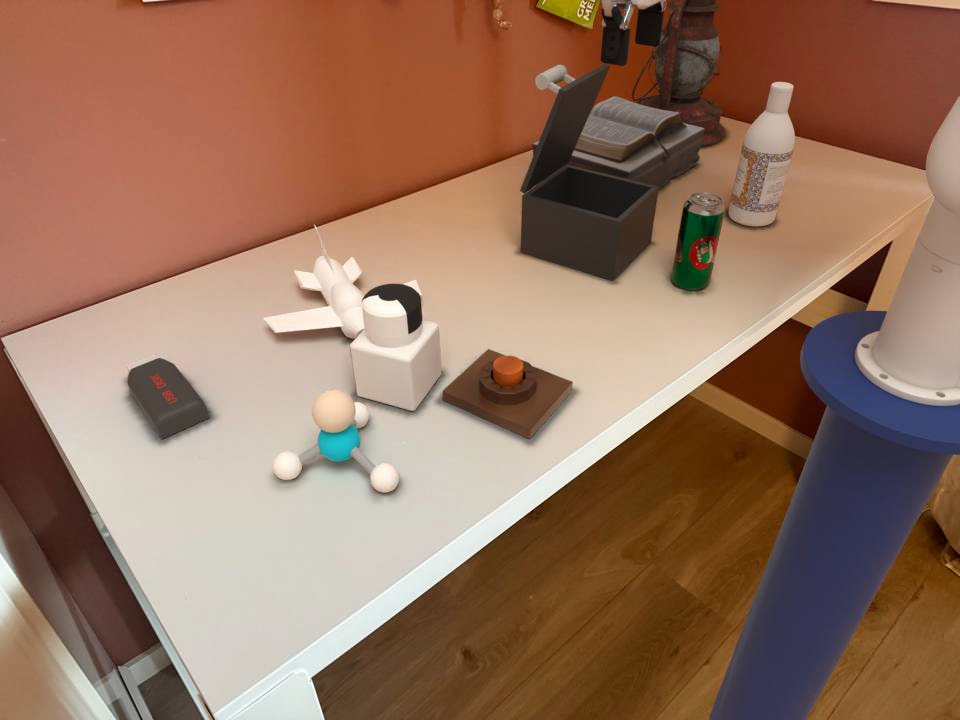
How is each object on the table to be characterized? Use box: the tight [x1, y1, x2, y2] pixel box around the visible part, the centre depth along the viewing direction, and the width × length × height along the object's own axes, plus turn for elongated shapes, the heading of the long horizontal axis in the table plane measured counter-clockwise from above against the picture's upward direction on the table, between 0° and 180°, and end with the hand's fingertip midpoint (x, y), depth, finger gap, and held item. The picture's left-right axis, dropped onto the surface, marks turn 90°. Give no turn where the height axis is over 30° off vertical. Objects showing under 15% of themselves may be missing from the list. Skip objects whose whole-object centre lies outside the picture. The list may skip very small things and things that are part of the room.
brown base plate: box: [442, 348, 573, 440], centre depth 77 cm, size 11×9×3 cm
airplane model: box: [262, 224, 423, 339], centre depth 90 cm, size 20×20×8 cm
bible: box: [532, 95, 705, 190], centre depth 122 cm, size 23×27×10 cm
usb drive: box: [126, 354, 211, 440], centre depth 77 cm, size 5×12×3 cm, turn 39°
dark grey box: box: [520, 165, 660, 282], centre depth 101 cm, size 15×13×9 cm
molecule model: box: [272, 388, 401, 493], centre depth 68 cm, size 12×12×9 cm
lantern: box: [631, 0, 726, 148], centre depth 131 cm, size 19×19×30 cm
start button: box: [493, 355, 523, 386], centre depth 76 cm, size 3×3×2 cm
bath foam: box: [728, 81, 796, 228], centre depth 104 cm, size 7×7×20 cm
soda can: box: [670, 191, 726, 291], centre depth 92 cm, size 5×5×12 cm
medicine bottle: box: [349, 283, 442, 412], centre depth 76 cm, size 7×7×12 cm
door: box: [519, 63, 611, 195], centre depth 96 cm, size 15×13×6 cm
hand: (630, 53), depth 88 cm, fingers open, 9 cm apart
